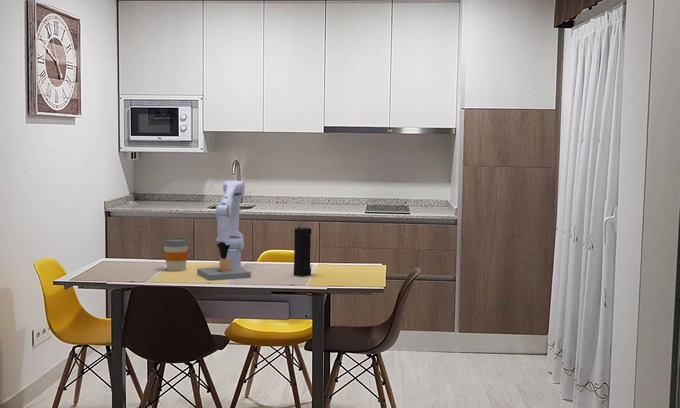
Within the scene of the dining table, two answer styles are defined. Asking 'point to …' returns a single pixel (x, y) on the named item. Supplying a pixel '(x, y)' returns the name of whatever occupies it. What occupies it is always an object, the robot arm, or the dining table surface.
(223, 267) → the plug
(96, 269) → the dining table surface
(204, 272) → the socket plate
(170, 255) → the reusable coffee cup
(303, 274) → the portable radio
